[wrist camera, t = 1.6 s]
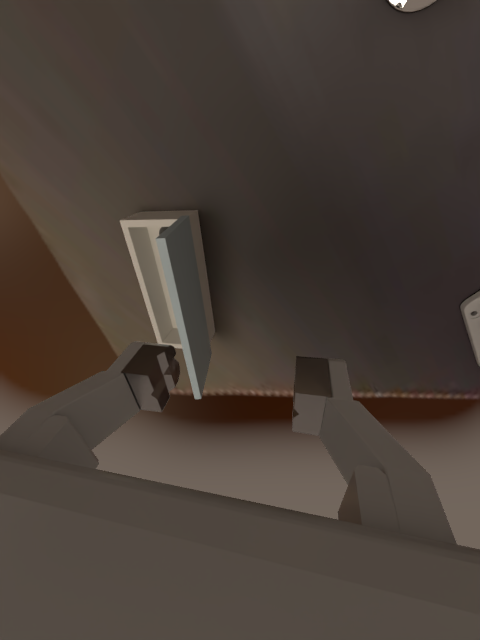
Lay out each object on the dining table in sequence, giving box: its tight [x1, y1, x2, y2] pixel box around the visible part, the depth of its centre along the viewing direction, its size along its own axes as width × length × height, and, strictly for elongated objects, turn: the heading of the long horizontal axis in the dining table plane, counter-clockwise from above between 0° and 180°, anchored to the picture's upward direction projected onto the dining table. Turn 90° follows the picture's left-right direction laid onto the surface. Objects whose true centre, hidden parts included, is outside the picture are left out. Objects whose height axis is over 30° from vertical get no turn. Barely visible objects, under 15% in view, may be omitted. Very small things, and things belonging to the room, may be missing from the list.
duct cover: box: [156, 215, 212, 399], centre depth 37 cm, size 11×25×1 cm
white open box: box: [120, 210, 215, 348], centre depth 45 cm, size 10×24×6 cm, turn 3°
